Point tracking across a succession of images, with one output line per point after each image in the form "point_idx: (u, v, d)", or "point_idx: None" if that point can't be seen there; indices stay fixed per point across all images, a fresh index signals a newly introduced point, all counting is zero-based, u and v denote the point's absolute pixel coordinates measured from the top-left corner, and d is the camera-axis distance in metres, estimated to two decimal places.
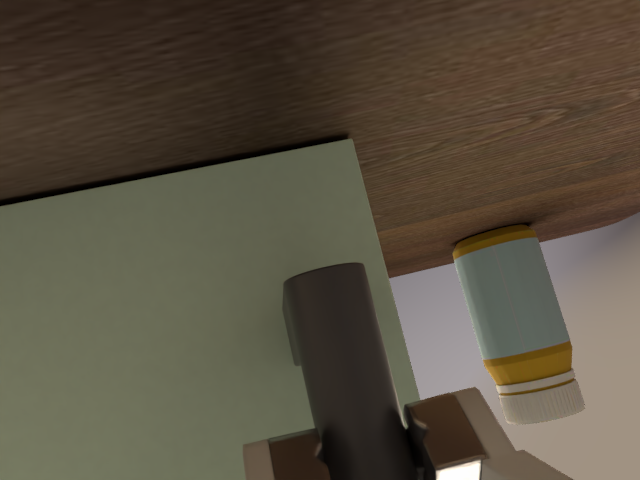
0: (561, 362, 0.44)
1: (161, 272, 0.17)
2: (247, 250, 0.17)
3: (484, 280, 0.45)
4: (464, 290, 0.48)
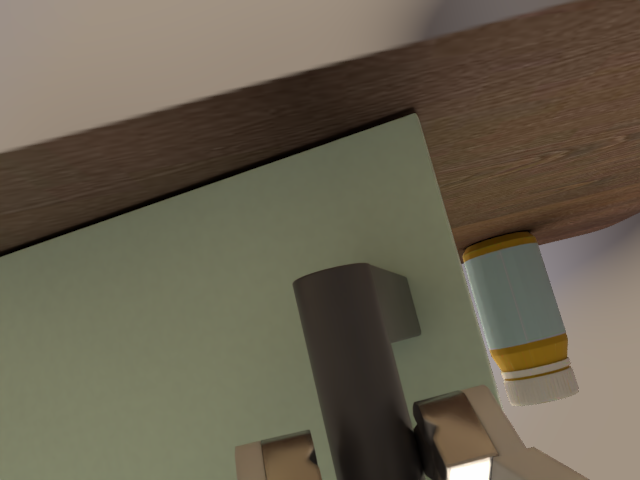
0: (559, 351, 0.50)
1: (244, 263, 0.19)
2: (317, 238, 0.18)
3: (491, 280, 0.52)
4: (473, 289, 0.54)
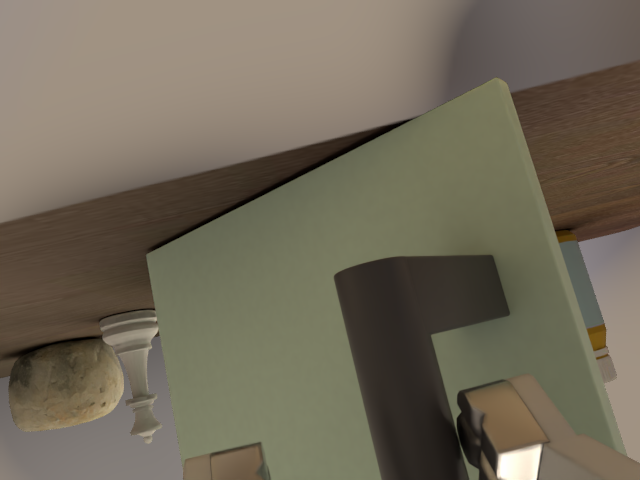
0: (599, 340, 0.55)
1: (343, 245, 0.20)
2: (405, 218, 0.18)
3: None
4: None
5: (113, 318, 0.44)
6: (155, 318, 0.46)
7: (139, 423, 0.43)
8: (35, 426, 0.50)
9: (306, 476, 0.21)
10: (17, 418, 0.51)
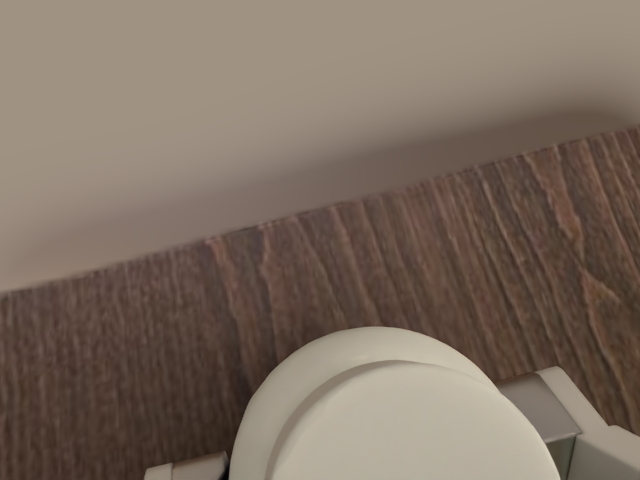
0: None
1: None
2: None
3: None
4: None
5: None
6: None
7: None
8: None
9: None
10: None
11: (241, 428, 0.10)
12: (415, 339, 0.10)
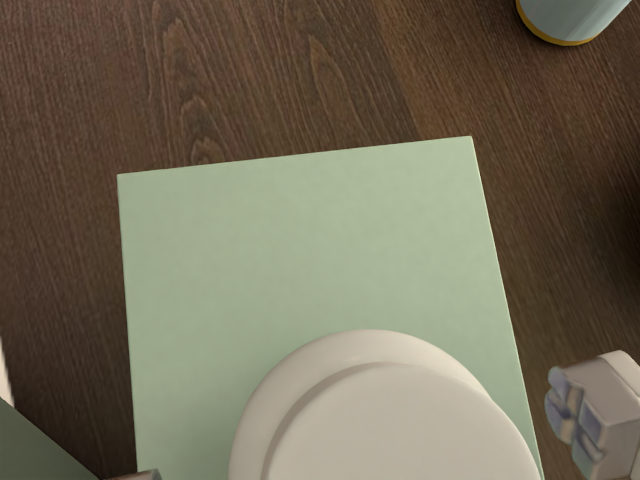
0: None
1: None
2: None
3: (559, 10, 0.38)
4: (601, 17, 0.38)
5: None
6: None
7: None
8: None
9: None
10: None
11: (239, 426, 0.10)
12: (405, 341, 0.11)
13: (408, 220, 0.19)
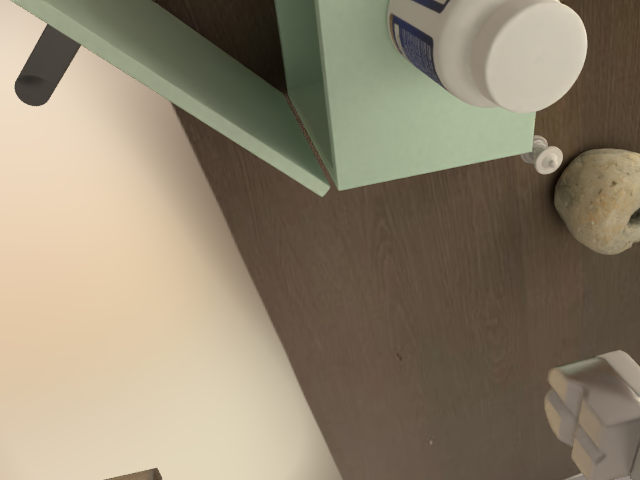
0: None
1: None
2: None
3: None
4: None
5: None
6: None
7: None
8: (595, 240, 0.54)
9: None
10: (589, 247, 0.56)
11: (448, 20, 0.22)
12: None
13: None
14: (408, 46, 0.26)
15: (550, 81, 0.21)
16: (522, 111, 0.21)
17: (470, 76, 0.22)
